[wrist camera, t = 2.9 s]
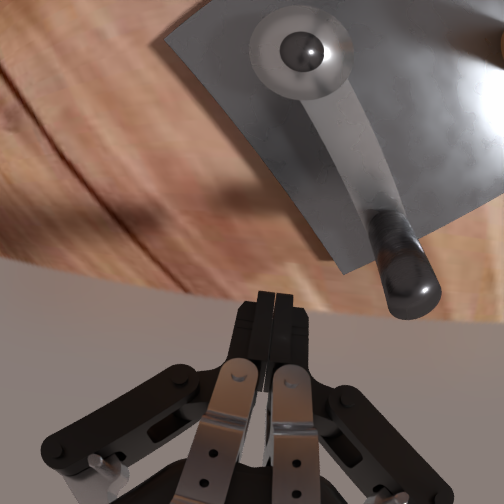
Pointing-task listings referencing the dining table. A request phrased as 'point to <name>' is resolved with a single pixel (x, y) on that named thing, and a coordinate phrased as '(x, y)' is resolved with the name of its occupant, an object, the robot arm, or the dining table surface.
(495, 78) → the crank base
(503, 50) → the pin
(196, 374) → the robot arm
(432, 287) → the crank
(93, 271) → the dining table surface
